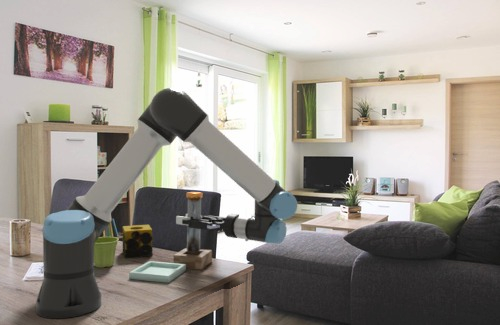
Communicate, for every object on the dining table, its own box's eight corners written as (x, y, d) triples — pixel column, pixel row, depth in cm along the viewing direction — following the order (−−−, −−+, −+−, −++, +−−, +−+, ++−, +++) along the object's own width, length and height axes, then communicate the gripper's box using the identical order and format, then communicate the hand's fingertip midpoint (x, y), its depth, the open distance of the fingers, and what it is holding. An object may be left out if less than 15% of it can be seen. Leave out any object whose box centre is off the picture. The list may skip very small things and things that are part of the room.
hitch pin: (197, 252, 144) (199, 194, 144) (182, 250, 146) (184, 193, 145) (203, 248, 150) (204, 192, 149) (189, 247, 151) (190, 191, 150)
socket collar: (201, 269, 142) (201, 257, 142) (173, 266, 144) (173, 255, 144) (211, 261, 152) (211, 250, 151) (185, 259, 154) (185, 248, 154)
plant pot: (109, 270, 140) (109, 243, 139) (83, 268, 142) (83, 242, 141) (123, 262, 149) (123, 237, 148) (98, 260, 151) (98, 236, 150)
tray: (168, 282, 128) (168, 275, 128) (129, 278, 131) (129, 272, 131) (185, 270, 141) (185, 264, 140) (149, 267, 144) (149, 261, 144)
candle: (149, 249, 167) (149, 224, 167) (153, 256, 158) (153, 229, 158) (122, 251, 164) (122, 225, 163) (124, 258, 154) (124, 230, 154)
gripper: (224, 243, 131) (164, 233, 142) (252, 233, 146) (196, 225, 158) (224, 218, 131) (165, 211, 142) (252, 211, 146) (196, 205, 157)
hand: (181, 218), depth 150 cm, fingers closed on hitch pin, 4 cm apart
